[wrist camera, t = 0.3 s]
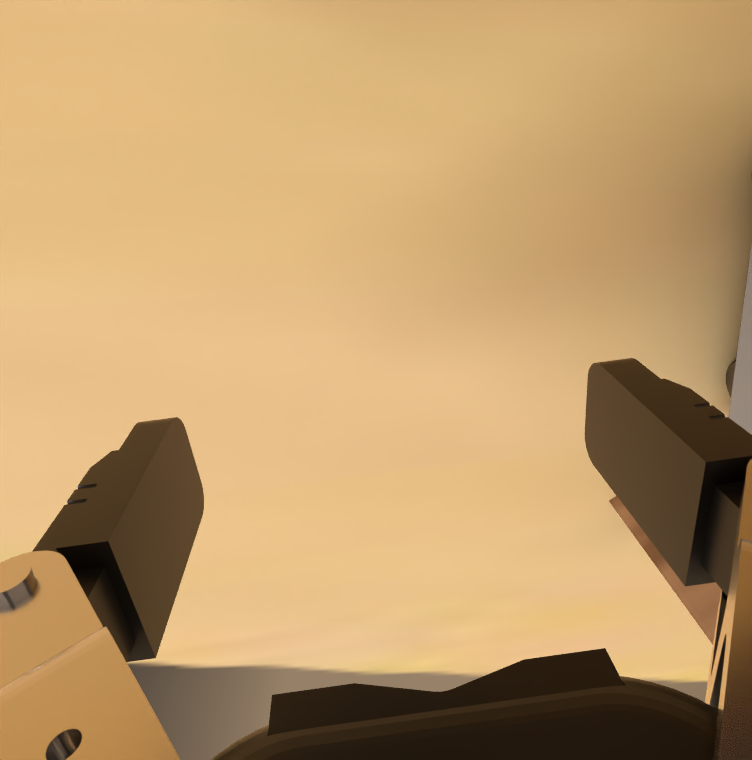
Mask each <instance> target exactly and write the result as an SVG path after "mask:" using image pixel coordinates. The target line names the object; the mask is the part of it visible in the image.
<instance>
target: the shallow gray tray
mask: <svg viewBox="0 0 752 760" xmlns="http://www.w3.org/2000/svg"><path fill="white" fill-rule="evenodd" d="M726 385H727V389H728V392H729V394H730V397H731V402H730V409H729V418H730V419H731V420H733V421H734V422H735V423H737V424H738V425H739V426H741V427H742V428H743V429H745V430H746V431H747V432H749V433H750V434H751V435H752V245H751V253H750V260H749V267H748V275H747V282H746V290H745V297H744V305H743V312H742V320H741V327H740V335H739V342H738V350H737V357H736V362H734V363H732V364H731V365H730V366H729V368H728V370H727V373H726Z"/></svg>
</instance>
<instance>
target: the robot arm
mask: <svg viewBox="0 0 752 760" xmlns="http://www.w3.org/2000/svg"><path fill="white" fill-rule="evenodd" d="M585 442H586V448H587V451H588V455H589V457H590V460H591V462H592V463H593V465H594V466H595V468H596V469H597V470H598V472H599V473H600V474H601V476H602V477H603V478H604V479H605V481H606V482H607V483H608V485H609V486H610V487H611V489H612V490H613V491H614V493H615V494H616V495H617V497H618V498H619V499H620V501H621V502H622V503H623V505H624V506H625V507H626V509H627V510H628V511H629V513H630V514H631V515H632V517H633V518H634V519H635V521H636V522H637V523H638V525H639V526H640V527H641V529H642V530H643V531H644V533H645V534H646V535H647V537H648V538H649V539H650V541H651V542H652V543H653V544H654V546H655V547H656V548H657V550H658V551H659V552H660V554H661V555H662V556H663V558H664V559H665V560H666V562H667V563H668V564H669V566H670V567H671V568H672V570H673V571H674V572H675V574H676V575H677V576H678V578H679V579H680V580H681V582H682V583H683V584H684V586H692V585H699V584H707V583H714V582H716V583H717V585H718V586H719V587H720V588H721V589H722V592H721V596H720V601H719V606H718V613H717V620H716V627H715V635H714V642H713V649H712V656H711V663H710V670H709V677H708V684H707V692H706V698H705V702H703V701H701V700H699V699H697V698H695V697H692V696H690V695H687V694H685V693H682V692H680V691H678V690H675V689H672V688H669V687H666V686H663V685H659V684H656V683H653V682H649V681H644V680H639V679H635V678H630V677H622V676H619V674H618V672H617V670H616V668H615V666H614V665H613V663H612V661H611V659H610V657H609V655H608V653H607V651H606V649H605V648H604V649H597V650H590V651H582V652H575V653H568V654H561V655H554V656H547V657H540V658H533V659H525V660H522V661H520V662H517V663H515V664H512V665H510V666H507V667H505V668H503V669H500V670H498V671H495V672H493V673H490V674H488V675H486V676H483V677H481V678H478V679H476V680H473V681H471V682H468V683H466V684H464V685H461V686H459V687H456V688H454V689H451V690H448V691H443V692H431V691H421V690H412V689H403V688H393V687H383V686H374V685H364V684H355V683H354V684H347V685H340V686H333V687H326V688H319V689H311V690H304V691H298V692H290V693H283V694H276V695H272V702H271V711H270V720H269V725H268V726H266V727H263V728H261V729H258V730H256V731H254V732H253V733H251V734H249V735H247V736H245V737H243V738H241V739H240V740H238V741H236V742H235V743H233V744H232V745H230V746H229V747H227V748H226V749H224V750H223V751H222V752H220V753H219V754H217V755H216V756H215V757H214V758H212V759H211V760H752V435H751V434H750V433H749V432H747V431H746V430H745V429H743V428H742V427H741V426H739V425H738V424H737V423H735V422H734V421H733V420H731V419H730V418H729V417H728V418H725V416H724V414H723V413H722V412H721V411H719V410H718V409H717V408H715V407H714V406H710V405H709V402H707V401H706V400H705V399H703V398H702V397H701V396H699V395H698V394H697V393H695V392H694V391H693V390H691V389H689V388H687V387H684V386H682V385H679V384H677V383H674V382H672V381H669V380H667V379H660V378H659V377H658V376H656V375H655V374H654V373H653V372H651V371H650V370H649V369H647V368H646V367H645V366H644V365H642V364H641V363H640V362H639V361H637V360H636V359H634V358H629V359H622V360H614V361H606V362H599V363H594V364H592V365H591V367H590V369H589V373H588V385H587V403H586V421H585ZM67 502H68V504H67V505H64V507H63V508H62V510H61V511H60V512H59V514H58V515H57V517H56V518H55V520H54V521H53V522H52V524H51V525H50V527H49V528H48V530H47V531H46V533H45V534H44V535H43V537H42V538H41V540H40V541H39V543H38V544H37V546H36V547H35V548H34V550H33V551H32V552H29V553H25V554H21V555H19V556H16V557H13V558H10V559H8V560H6V561H4V562H1V563H0V760H180V758H179V756H178V755H177V753H176V751H175V749H174V747H173V746H172V744H171V742H170V740H169V739H168V737H167V735H166V733H165V731H164V729H163V728H162V726H161V724H160V722H159V720H158V718H157V717H156V715H155V713H154V711H153V709H152V708H151V706H150V704H149V702H148V700H147V699H146V697H145V695H144V693H143V691H142V690H141V688H140V686H139V684H138V682H137V681H136V679H135V677H134V675H133V673H132V672H131V670H130V668H129V666H128V664H127V662H130V661H137V660H144V659H152V658H156V656H157V652H158V649H159V646H160V643H161V640H162V637H163V634H164V631H165V628H166V625H167V622H168V619H169V616H170V613H171V610H172V607H173V604H174V601H175V598H176V595H177V592H178V589H179V585H180V582H181V579H182V576H183V573H184V570H185V567H186V564H187V561H188V558H189V555H190V552H191V549H192V546H193V543H194V540H195V537H196V534H197V531H198V528H199V525H200V522H201V518H202V515H203V509H204V495H203V488H202V483H201V480H200V477H199V473H198V470H197V466H196V463H195V460H194V456H193V453H192V450H191V446H190V443H189V440H188V436H187V433H186V430H185V427H184V424H183V423H182V421H181V420H180V419H179V418H177V417H176V418H168V419H161V420H153V421H146V422H139V423H137V424H136V425H135V426H134V428H133V429H132V431H131V432H130V434H129V435H128V437H127V439H126V440H125V442H124V443H123V445H122V446H121V448H120V449H119V450H116V451H111V452H110V453H109V454H108V455H106V456H105V457H104V458H103V459H101V460H100V461H99V462H97V463H96V464H95V465H94V466H92V467H91V468H90V469H89V471H88V472H87V474H86V475H85V476H84V478H83V479H82V481H81V482H80V484H79V485H78V489H77V490H75V491H74V492H73V494H72V495H71V497H70V498H69V499H68V501H67Z"/></svg>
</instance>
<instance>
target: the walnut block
mask: <svg viewBox="0 0 752 760" xmlns="http://www.w3.org/2000/svg"><path fill="white" fill-rule="evenodd" d="M609 502H610V503H611V504H612V506H613V507H614V509H615V510H616V511H617V513H618V514H619V515H620V517H621V518H622V520H623V521H624V522H625V524H626V525H627V527H628V528H629V529H630V531H631V532H632V533H633V535H634V536H635V538H636V539H637V540H638V542H639V543H640V545H641V546H642V547H643V549H644V550H645V551H646V553H647V554H648V556H649V557H650V558H651V560H652V561H653V563H654V564H655V565H656V567H657V568H658V569H659V571H660V572H661V574H662V575H663V576H664V578H665V579H666V580H667V582H668V583H669V585H670V586H671V587H672V589H673V590H674V592H675V593H676V594H677V596H678V597H679V598H680V600H681V601H682V603H683V604H684V605H685V607H686V608H687V610H688V611H689V612H690V614H691V615H692V616H693V618H694V619H695V621H696V622H697V623H698V625H699V626H700V627H701V629H702V630H703V632H704V633H705V634H706V636H707V637H708V639H709V640H710V641H711V643H712V644H713V642H714V635H715V627H716V620H717V613H718V606H719V601H720V596H721V592H722V589H721V588H720V587H719V586H718V585H717V583H716V582H714V583H707V584H699V585H692V586H684V584H683V583H682V582H681V580H680V579H679V578H678V576H677V575H676V574H675V572H674V571H673V570H672V568H671V567H670V566H669V564H668V563H667V562H666V560H665V559H664V558H663V556H662V555H661V554H660V552H659V551H658V550H657V548H656V547H655V546H654V544H653V543H652V542H651V541H650V539H649V538H648V537H647V535H646V534H645V533H644V531H643V530H642V529H641V527H640V526H639V525H638V523H637V522H636V521H635V519H634V518H633V517H632V515H631V514H630V513H629V511H628V510H627V509H626V507H625V506H624V505H623V503H622V502H621V501H620V499H619V498H618V497H617V496H616V497H614V498H613V499H611V500H610V501H609Z"/></svg>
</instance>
